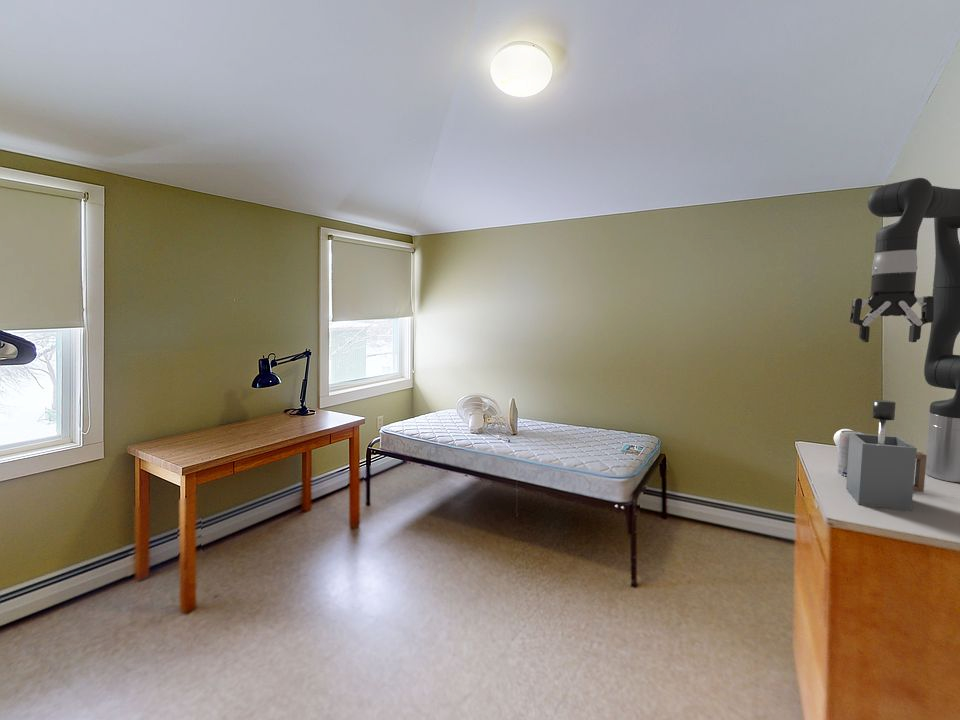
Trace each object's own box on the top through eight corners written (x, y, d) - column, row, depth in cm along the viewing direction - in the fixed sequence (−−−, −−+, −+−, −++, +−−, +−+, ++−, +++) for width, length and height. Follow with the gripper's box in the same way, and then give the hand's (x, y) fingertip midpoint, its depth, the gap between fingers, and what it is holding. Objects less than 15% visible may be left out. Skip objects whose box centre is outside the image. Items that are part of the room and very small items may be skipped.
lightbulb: (848, 461, 133) (851, 426, 132) (864, 469, 127) (866, 432, 126) (827, 461, 134) (829, 426, 133) (841, 469, 128) (843, 432, 127)
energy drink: (866, 478, 121) (869, 436, 119) (844, 477, 122) (847, 435, 120) (854, 471, 126) (857, 430, 124) (833, 470, 127) (835, 430, 126)
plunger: (890, 482, 109) (897, 399, 107) (902, 493, 103) (910, 405, 101) (854, 478, 112) (860, 398, 110) (864, 488, 106) (870, 403, 104)
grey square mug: (911, 496, 109) (916, 437, 107) (930, 513, 100) (935, 449, 99) (846, 489, 115) (849, 432, 113) (858, 504, 106) (862, 443, 104)
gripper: (927, 270, 102) (921, 340, 104) (849, 274, 108) (845, 340, 110) (943, 268, 95) (937, 343, 97) (859, 272, 101) (855, 343, 103)
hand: (888, 342), depth 104 cm, fingers open, 8 cm apart
